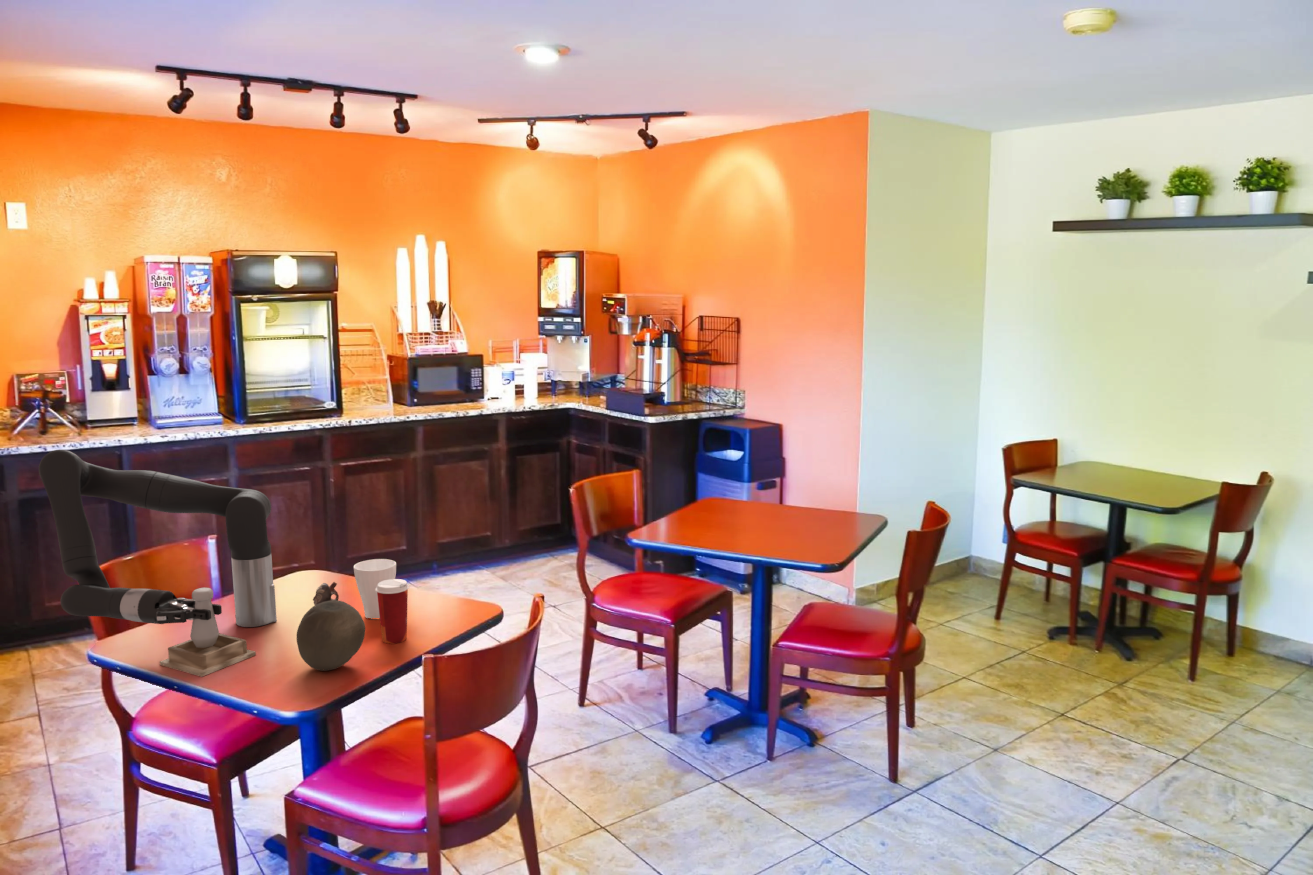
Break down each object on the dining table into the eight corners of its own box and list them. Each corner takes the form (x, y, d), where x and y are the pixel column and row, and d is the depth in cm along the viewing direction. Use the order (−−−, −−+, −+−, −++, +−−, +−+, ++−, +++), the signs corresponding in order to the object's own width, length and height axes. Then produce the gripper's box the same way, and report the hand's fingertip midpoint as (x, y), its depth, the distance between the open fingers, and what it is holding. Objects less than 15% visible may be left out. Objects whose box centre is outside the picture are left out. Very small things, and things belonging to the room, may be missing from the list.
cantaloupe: (306, 686, 199) (302, 618, 197) (292, 663, 211) (288, 599, 209) (373, 671, 207) (370, 606, 204) (356, 651, 219) (353, 588, 216)
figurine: (311, 627, 234) (309, 580, 232) (341, 623, 237) (339, 577, 235) (313, 636, 228) (310, 589, 226) (344, 632, 230) (341, 585, 229)
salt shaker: (207, 650, 209) (204, 594, 207) (185, 648, 210) (181, 592, 208) (224, 641, 215) (222, 586, 213) (202, 638, 216) (199, 584, 214)
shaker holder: (215, 644, 223) (213, 628, 222) (255, 654, 216) (254, 639, 216) (160, 664, 211) (158, 648, 210) (201, 676, 204) (200, 660, 204)
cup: (407, 613, 244) (404, 562, 242) (375, 625, 235) (372, 573, 233) (379, 606, 250) (376, 556, 248) (347, 617, 241) (344, 566, 239)
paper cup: (417, 636, 228) (415, 580, 226) (396, 647, 221) (394, 589, 219) (392, 631, 231) (389, 576, 229) (370, 642, 224) (367, 585, 222)
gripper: (124, 599, 207) (193, 606, 204) (169, 580, 221) (234, 586, 217) (126, 632, 208) (195, 639, 205) (171, 611, 222) (236, 617, 218)
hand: (215, 612), depth 211 cm, fingers closed on salt shaker, 3 cm apart
